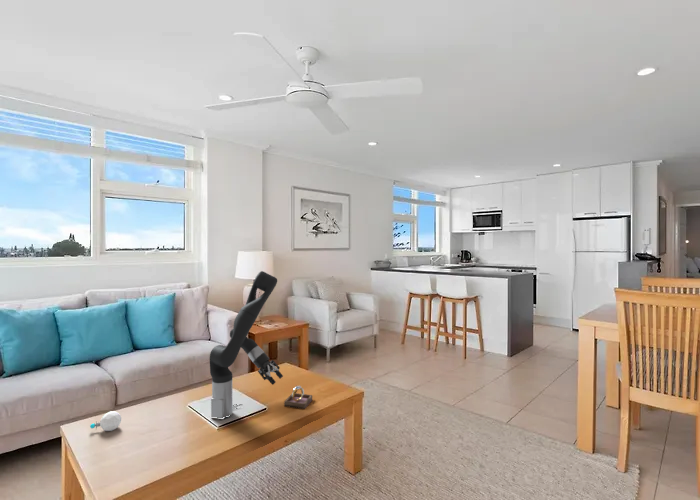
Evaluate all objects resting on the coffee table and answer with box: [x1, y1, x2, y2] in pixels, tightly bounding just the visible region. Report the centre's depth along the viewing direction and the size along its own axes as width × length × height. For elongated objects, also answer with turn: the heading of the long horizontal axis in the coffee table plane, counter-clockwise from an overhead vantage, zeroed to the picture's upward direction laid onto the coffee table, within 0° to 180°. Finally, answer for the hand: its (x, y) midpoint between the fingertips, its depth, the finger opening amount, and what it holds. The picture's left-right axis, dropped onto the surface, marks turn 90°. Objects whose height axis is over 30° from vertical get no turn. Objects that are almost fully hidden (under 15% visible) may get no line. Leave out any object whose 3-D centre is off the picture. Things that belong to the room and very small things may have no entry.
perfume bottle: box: [89, 410, 122, 432], centre depth 164 cm, size 8×8×12 cm
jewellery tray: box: [283, 392, 313, 410], centre depth 193 cm, size 11×11×2 cm
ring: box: [291, 385, 305, 402], centre depth 192 cm, size 7×3×8 cm, turn 132°
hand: (278, 380), depth 195 cm, fingers open, 8 cm apart
